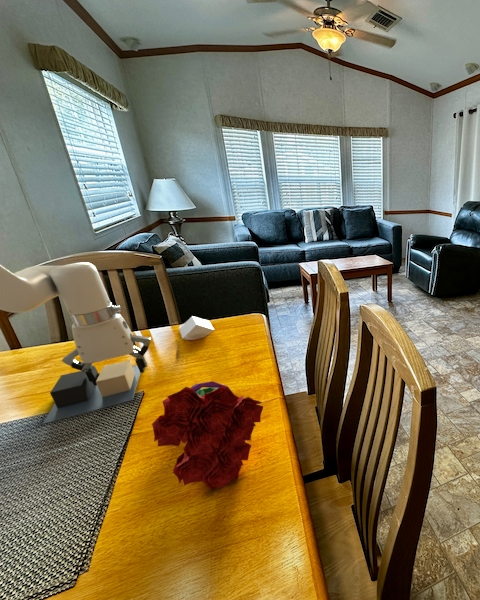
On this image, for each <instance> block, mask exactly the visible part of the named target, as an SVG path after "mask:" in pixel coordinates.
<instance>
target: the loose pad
mask: <svg viewBox="0 0 480 600" xmlns="http://www.w3.org/2000/svg"><path fill="white" fill-rule="evenodd" d="M134 376H135V373H134V370H133V365H132V362H131V360H125V361H120V362H115V363H110V364H106V365H103V366H102V368H101V370H100V371H99V377H98V379H97V381H96V384H97V386H98V388H99V391H100V393H101V395H102V397H105V396H109V395H113V394H117V393H121V392H125V391H128V390H130V389H131V386H132V382H133V379H134Z"/></svg>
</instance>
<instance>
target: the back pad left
mask: <svg viewBox="0 0 480 600" xmlns="http://www.w3.org/2000/svg"><path fill="white" fill-rule="evenodd" d="M94 387H95V386H94V384H93V382H90V381H89V379H88V377H87V375H86V373H83V372H82V371H81V370H78V371H74V372H70V373H65V374H62V375H60V377H59V378H58V380H57V381H56V383H55V384H54V386H53V388H52V389H51V391H50V392H49V394H50V396H51V398H52V401H53V402H54V404H56V406H57V408H61V407H65V406H69V405H73V404H77V403H81V402H85V401H88V400H89V398H90V396H91V394H92V392H93V389H94Z"/></svg>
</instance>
